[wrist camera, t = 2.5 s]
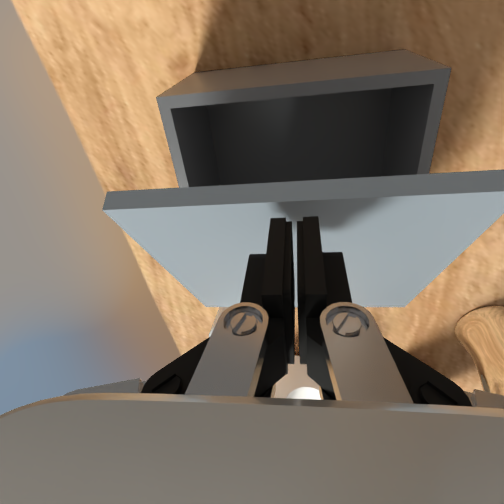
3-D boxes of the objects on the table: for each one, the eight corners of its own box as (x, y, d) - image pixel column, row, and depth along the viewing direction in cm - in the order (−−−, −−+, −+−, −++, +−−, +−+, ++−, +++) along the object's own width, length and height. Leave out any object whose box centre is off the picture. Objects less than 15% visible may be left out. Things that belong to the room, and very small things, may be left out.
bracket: (277, 348, 41) (274, 407, 35) (336, 351, 40) (343, 412, 34) (277, 404, 49) (275, 461, 43) (327, 408, 48) (331, 466, 42)
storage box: (194, 72, 23) (156, 97, 17) (404, 49, 21) (451, 67, 15) (225, 237, 32) (207, 296, 25) (379, 232, 29) (402, 295, 23)
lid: (107, 191, 12) (102, 210, 12) (520, 168, 10) (527, 190, 10) (207, 296, 25) (206, 307, 25) (402, 295, 23) (404, 307, 23)
